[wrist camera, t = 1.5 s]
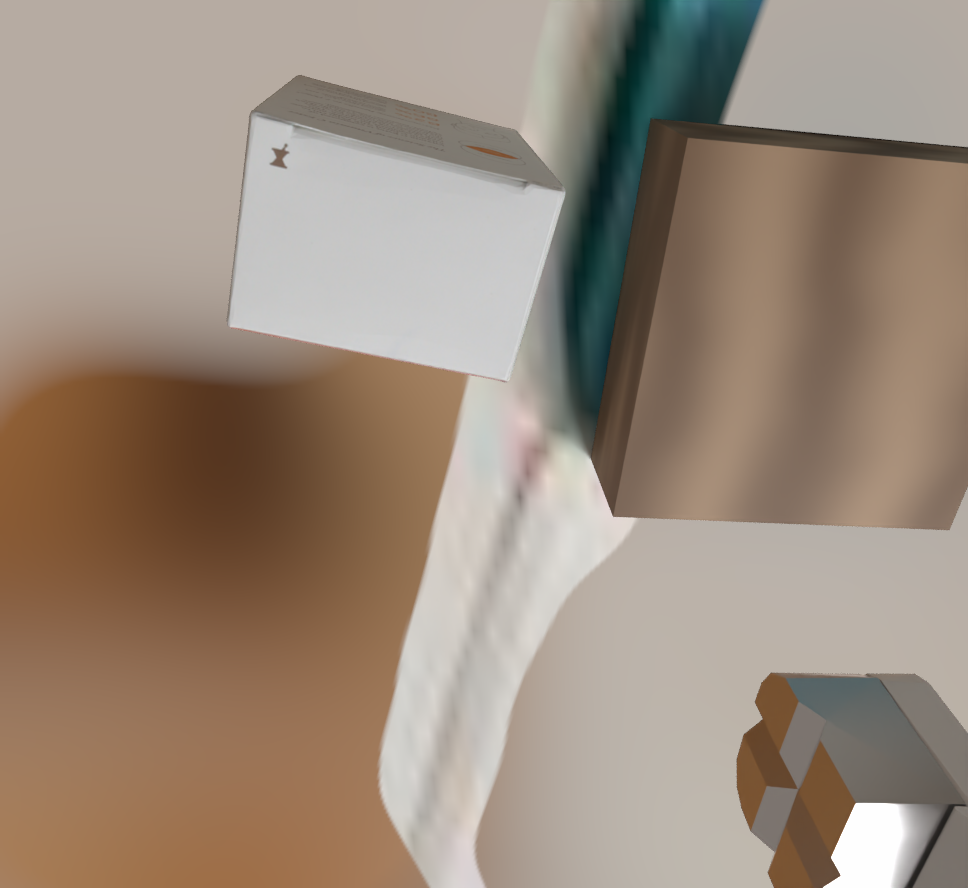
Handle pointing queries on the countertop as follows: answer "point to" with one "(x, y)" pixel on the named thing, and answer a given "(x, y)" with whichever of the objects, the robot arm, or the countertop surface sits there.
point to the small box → (390, 229)
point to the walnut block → (790, 332)
